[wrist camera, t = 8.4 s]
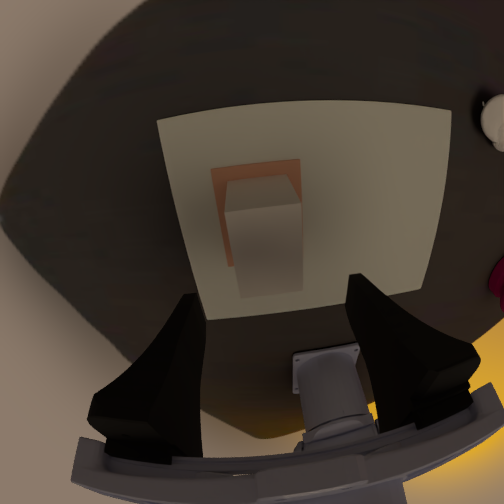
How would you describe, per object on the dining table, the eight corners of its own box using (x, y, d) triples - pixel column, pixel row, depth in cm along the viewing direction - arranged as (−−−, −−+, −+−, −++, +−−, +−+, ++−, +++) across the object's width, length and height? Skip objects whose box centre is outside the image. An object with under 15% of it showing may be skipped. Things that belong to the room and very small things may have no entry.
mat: (419, 286, 26) (420, 288, 26) (207, 317, 26) (207, 320, 26) (449, 110, 16) (451, 110, 16) (157, 120, 16) (156, 120, 16)
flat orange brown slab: (302, 256, 23) (303, 258, 22) (228, 265, 23) (228, 266, 23) (299, 158, 18) (300, 159, 18) (210, 168, 18) (210, 169, 18)
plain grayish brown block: (286, 174, 19) (301, 203, 14) (291, 248, 22) (303, 290, 18) (227, 181, 19) (224, 212, 15) (239, 254, 22) (240, 298, 18)
